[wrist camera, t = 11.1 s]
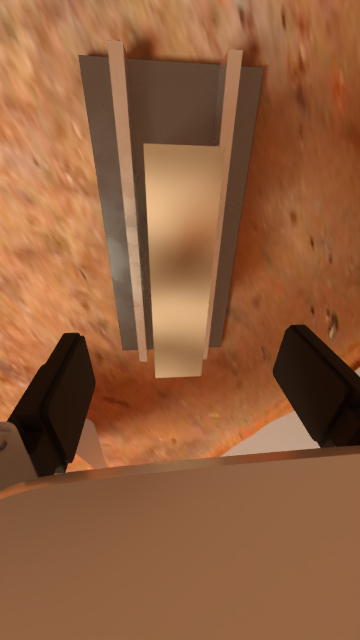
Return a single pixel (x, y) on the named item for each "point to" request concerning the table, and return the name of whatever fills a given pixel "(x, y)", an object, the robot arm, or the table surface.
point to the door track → (173, 129)
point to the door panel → (181, 250)
